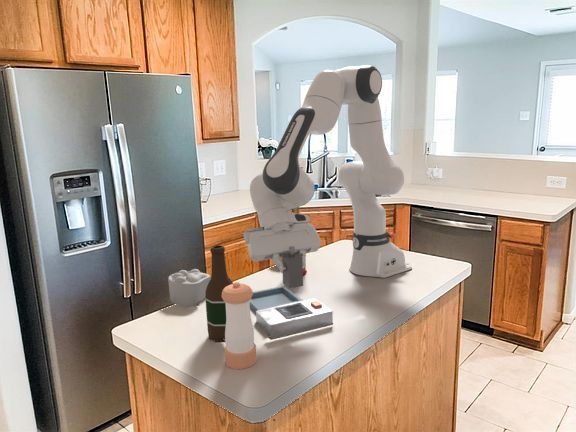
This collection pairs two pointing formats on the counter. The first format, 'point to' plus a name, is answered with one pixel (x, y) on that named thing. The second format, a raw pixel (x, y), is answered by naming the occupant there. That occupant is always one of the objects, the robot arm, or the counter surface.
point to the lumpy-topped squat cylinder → (188, 287)
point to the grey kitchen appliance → (294, 318)
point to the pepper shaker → (239, 327)
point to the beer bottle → (217, 295)
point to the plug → (293, 269)
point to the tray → (272, 298)
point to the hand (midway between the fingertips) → (293, 269)
